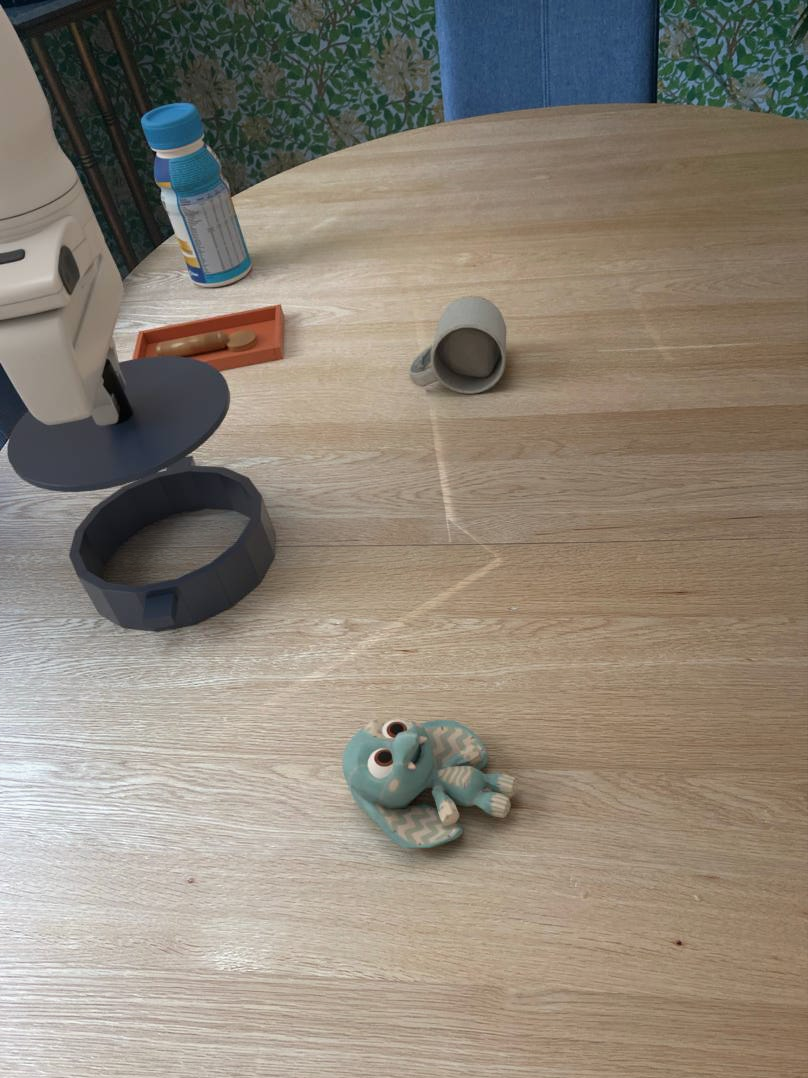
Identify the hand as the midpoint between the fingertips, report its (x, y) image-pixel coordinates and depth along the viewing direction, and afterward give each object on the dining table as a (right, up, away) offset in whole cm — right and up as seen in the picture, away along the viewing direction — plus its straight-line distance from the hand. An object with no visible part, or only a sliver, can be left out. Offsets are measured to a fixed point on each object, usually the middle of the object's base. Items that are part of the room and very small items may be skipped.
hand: (113, 406), depth 80 cm
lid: (0, -1, +1) cm, 2 cm away
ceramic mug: (+27, +9, +28) cm, 40 cm away
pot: (+2, -12, +12) cm, 17 cm away
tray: (-2, +15, +38) cm, 41 cm away
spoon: (-2, +15, +38) cm, 41 cm away
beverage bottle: (-5, +30, +53) cm, 61 cm away
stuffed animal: (+26, -29, -9) cm, 40 cm away
